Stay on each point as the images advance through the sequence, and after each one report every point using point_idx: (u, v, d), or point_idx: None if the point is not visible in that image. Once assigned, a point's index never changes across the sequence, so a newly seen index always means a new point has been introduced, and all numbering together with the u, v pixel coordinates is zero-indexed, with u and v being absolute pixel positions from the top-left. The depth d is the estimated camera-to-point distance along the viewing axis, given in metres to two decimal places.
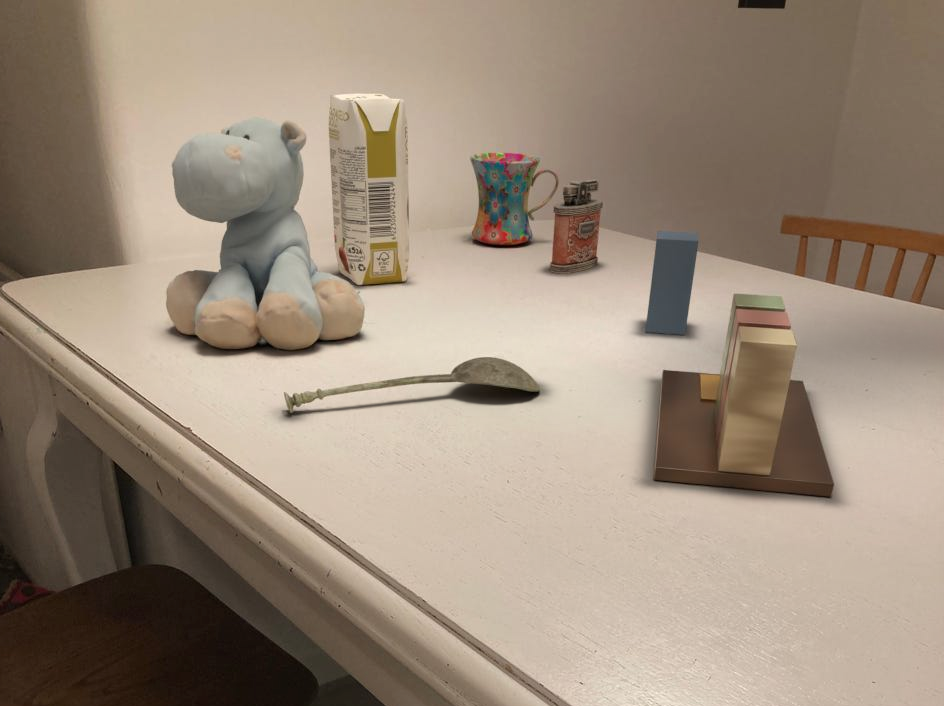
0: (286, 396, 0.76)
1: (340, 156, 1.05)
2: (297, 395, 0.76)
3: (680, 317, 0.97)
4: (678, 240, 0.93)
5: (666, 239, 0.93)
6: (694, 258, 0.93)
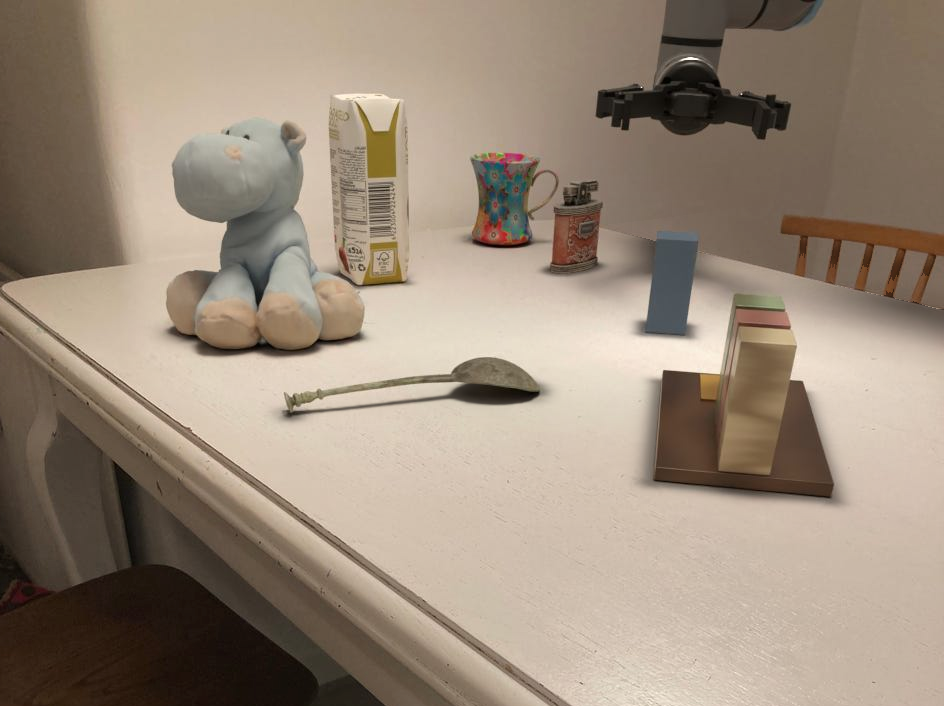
0: (286, 396, 0.76)
1: (340, 156, 1.05)
2: (297, 395, 0.76)
3: (680, 317, 0.97)
4: (678, 240, 0.93)
5: (666, 239, 0.93)
6: (694, 258, 0.93)
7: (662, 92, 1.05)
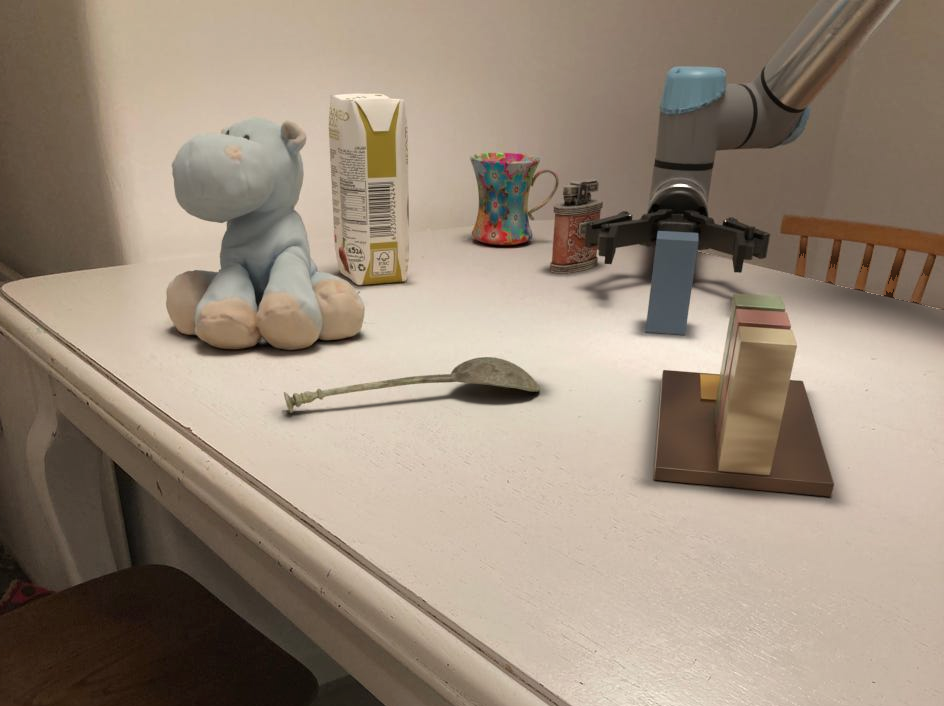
0: (286, 396, 0.76)
1: (340, 156, 1.05)
2: (297, 395, 0.76)
3: (680, 317, 0.97)
4: (678, 240, 0.93)
5: (666, 239, 0.93)
6: (694, 258, 0.93)
7: (648, 221, 1.10)
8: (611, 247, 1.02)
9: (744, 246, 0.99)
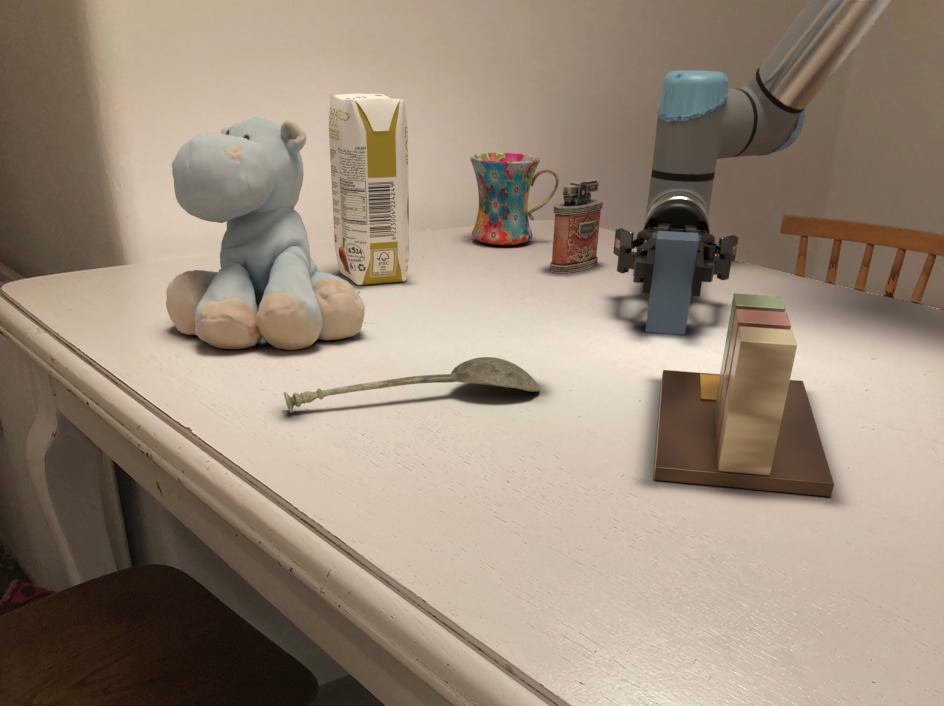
0: (286, 396, 0.76)
1: (340, 156, 1.05)
2: (297, 395, 0.76)
3: (680, 317, 0.97)
4: (678, 240, 0.93)
5: (666, 239, 0.93)
6: (694, 258, 0.93)
7: None
8: (650, 274, 0.92)
9: (702, 268, 0.91)
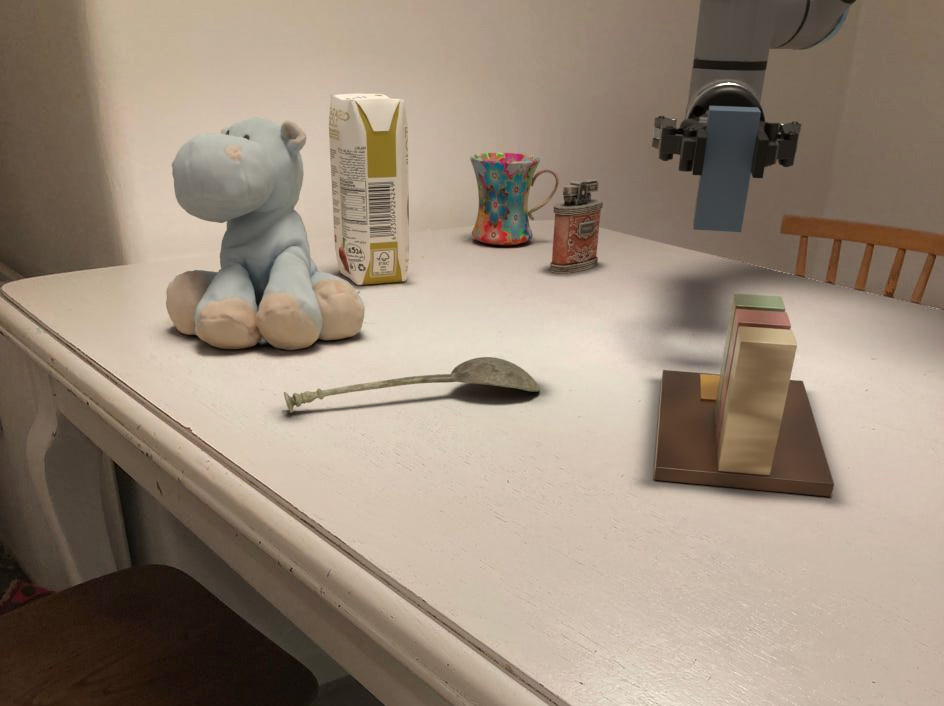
0: (286, 396, 0.76)
1: (341, 155, 1.05)
2: (297, 395, 0.76)
3: (736, 210, 0.81)
4: (736, 111, 0.77)
5: (721, 110, 0.77)
6: (755, 134, 0.77)
7: None
8: (703, 151, 0.76)
9: (766, 141, 0.74)
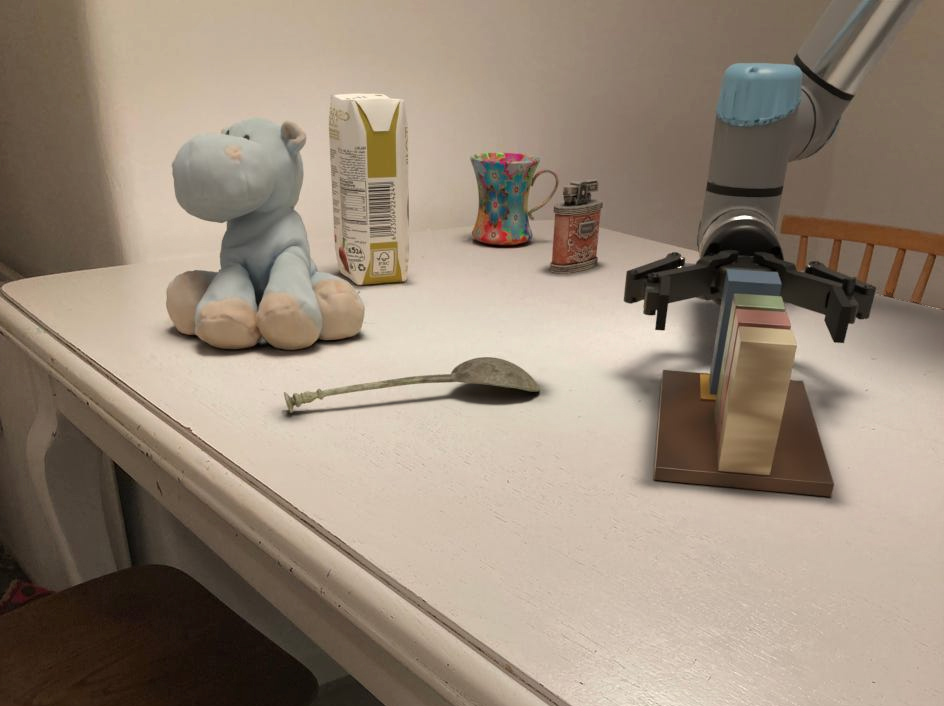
0: (286, 396, 0.76)
1: (341, 156, 1.05)
2: (297, 395, 0.76)
3: None
4: (756, 283, 0.74)
5: (740, 281, 0.74)
6: None
7: (708, 268, 0.83)
8: (665, 308, 0.75)
9: (849, 308, 0.72)
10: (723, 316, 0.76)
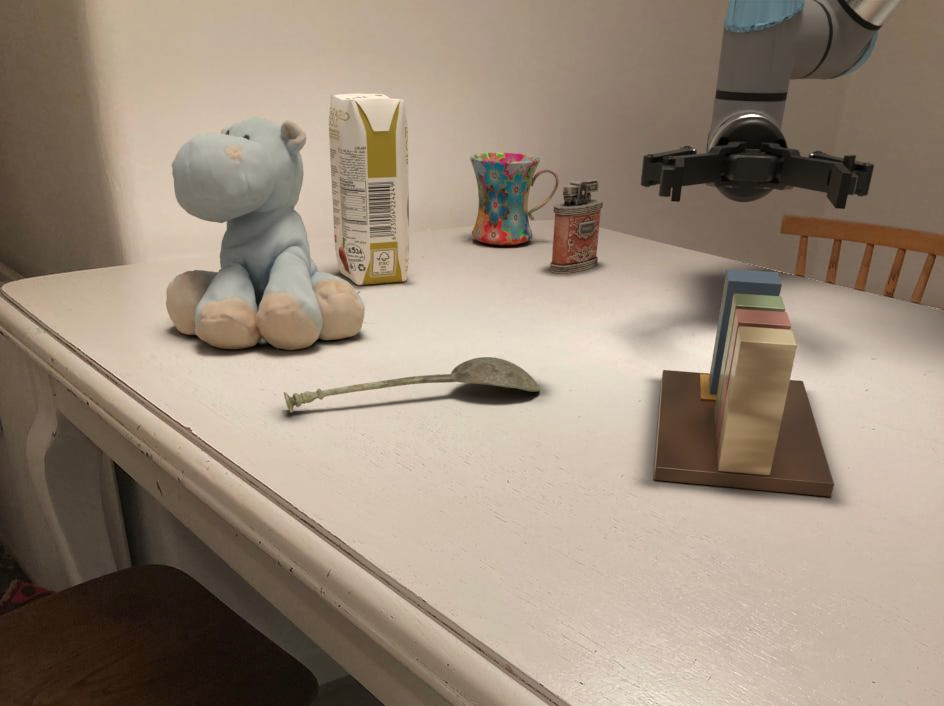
0: (286, 396, 0.76)
1: (341, 156, 1.05)
2: (297, 395, 0.76)
3: None
4: (756, 283, 0.74)
5: (740, 281, 0.74)
6: None
7: (719, 155, 0.90)
8: (680, 179, 0.82)
9: (850, 174, 0.79)
10: (723, 316, 0.76)
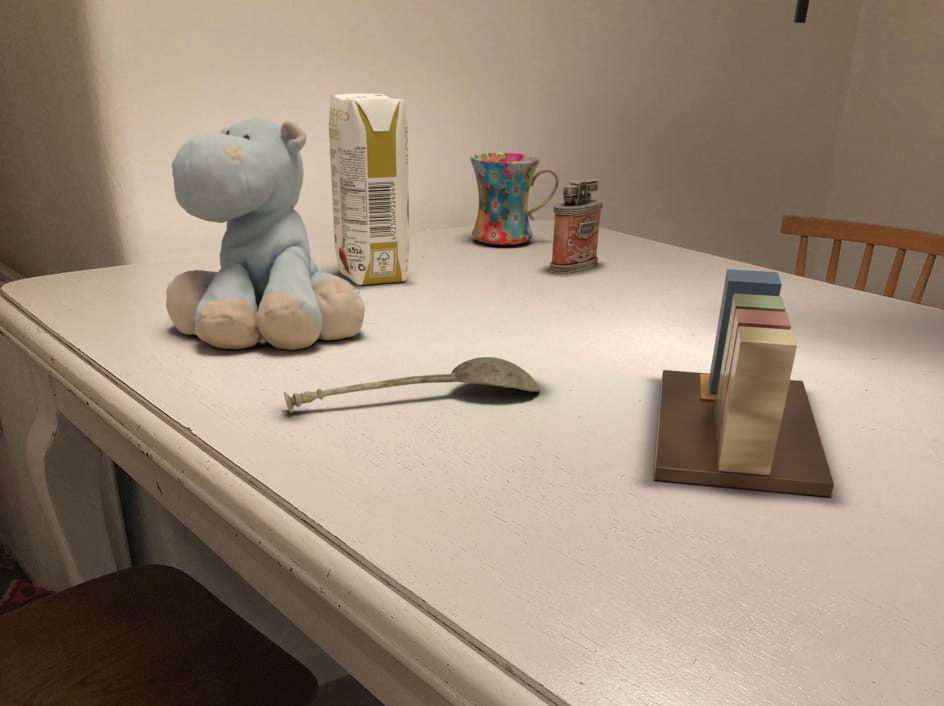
0: (286, 396, 0.76)
1: (341, 155, 1.05)
2: (297, 395, 0.76)
3: None
4: (756, 283, 0.74)
5: (740, 281, 0.74)
6: None
7: None
8: None
9: None
10: (723, 316, 0.76)
